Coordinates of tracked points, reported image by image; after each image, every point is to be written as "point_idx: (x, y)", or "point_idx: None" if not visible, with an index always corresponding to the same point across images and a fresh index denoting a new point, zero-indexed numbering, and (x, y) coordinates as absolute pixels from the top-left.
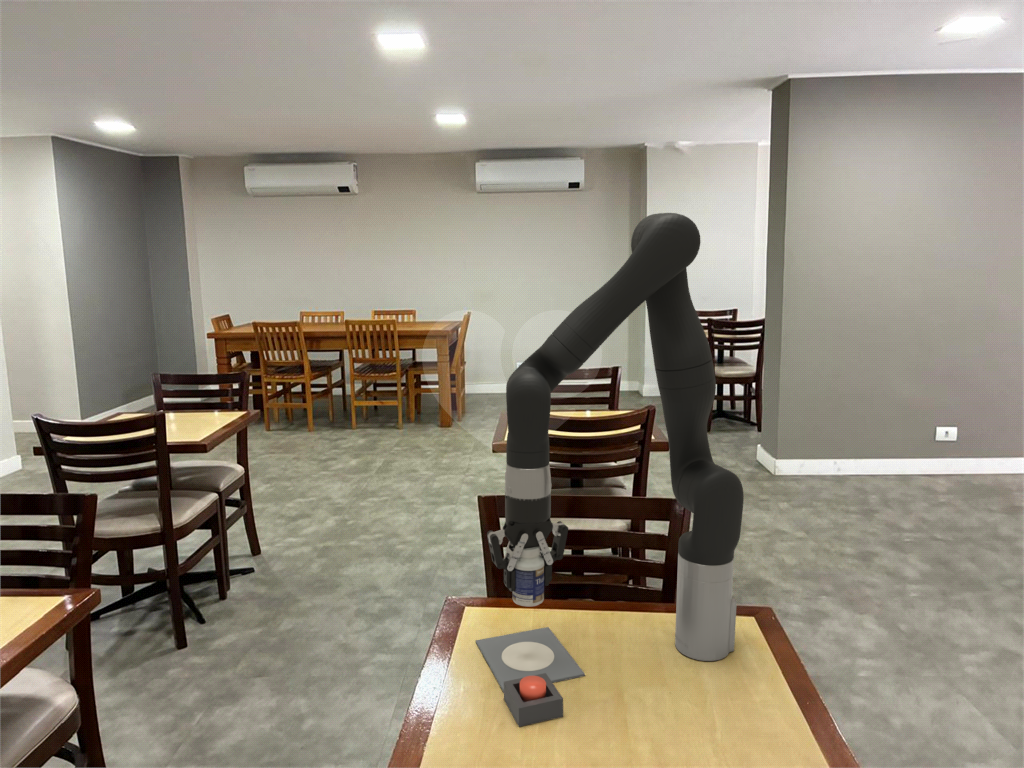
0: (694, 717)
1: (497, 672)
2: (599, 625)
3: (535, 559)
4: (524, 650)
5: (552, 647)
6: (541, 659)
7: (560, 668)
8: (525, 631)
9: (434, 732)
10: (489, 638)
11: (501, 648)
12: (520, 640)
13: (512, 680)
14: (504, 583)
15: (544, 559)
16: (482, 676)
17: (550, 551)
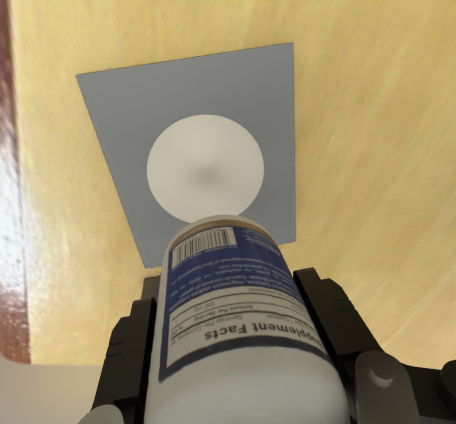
0: (382, 323)
1: (135, 219)
2: (422, 55)
3: None
4: (203, 153)
5: (269, 149)
6: (232, 193)
7: (259, 223)
8: (224, 55)
9: (36, 329)
10: (116, 73)
11: (148, 132)
12: (201, 102)
13: (156, 301)
14: (116, 328)
15: (354, 413)
16: (104, 217)
17: (439, 419)
